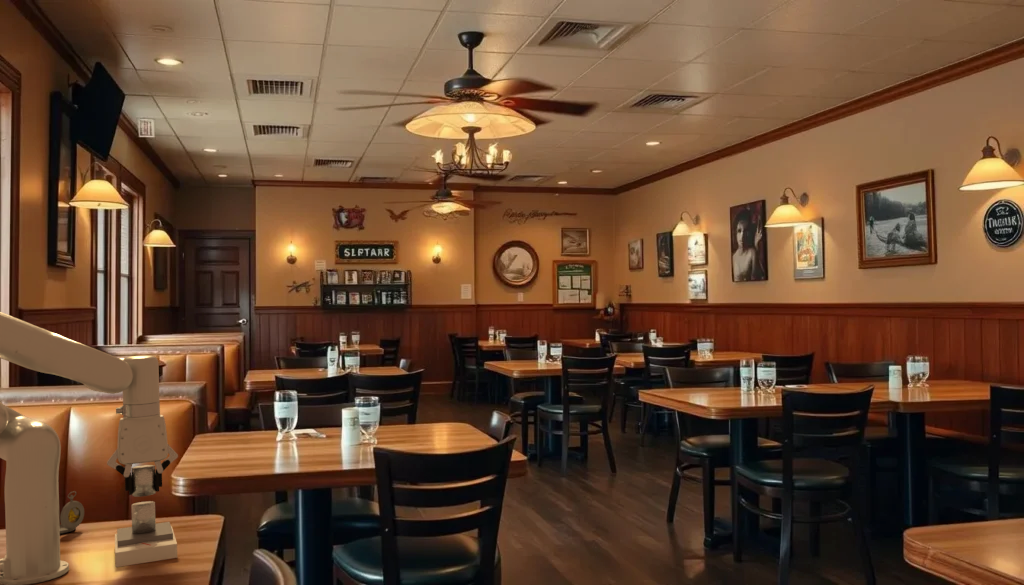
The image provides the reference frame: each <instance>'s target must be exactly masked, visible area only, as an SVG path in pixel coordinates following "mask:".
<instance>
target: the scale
mask: <svg viewBox="0 0 1024 585" xmlns="http://www.w3.org/2000/svg"><path fill="white" fill-rule="evenodd" d="M155 525H156V529H155V530H154V531H151V532H146V533H132V526H129V527H128V526H127V527H122V528H117V529H116V530H117V531H116V533H114V550H115V551H114V552H115V553H114V555H115V568H119V567H125V566H130V565H131V566H132V565H138V564H144V563H145V564H146V563H151V562H157V561H164V560H170V559H175V558H176V559H177V558H178V542H177V539H176V535H175V531H174V529H173V526H172V524H171V522H170V521H164V522H158V523H157V522H155Z"/></svg>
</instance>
